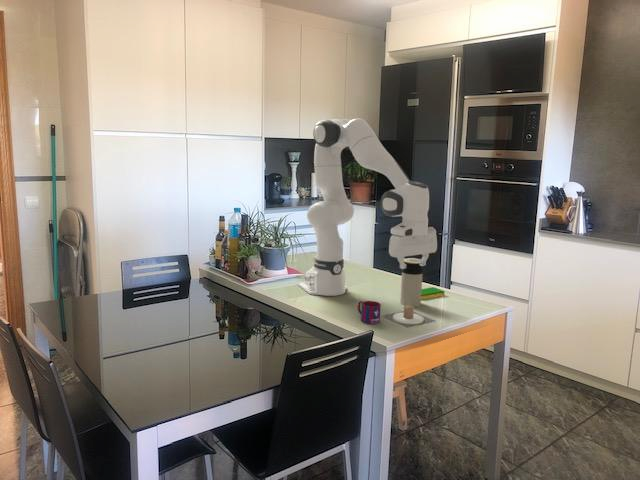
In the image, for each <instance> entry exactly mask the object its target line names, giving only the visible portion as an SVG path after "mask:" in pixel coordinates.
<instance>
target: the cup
mask: <svg viewBox="0 0 640 480" xmlns="http://www.w3.org/2000/svg"><path fill="white" fill-rule="evenodd" d="M357 311H358V313H359V315H360V322H361V323H362V324H366V325H377V324H380V322H381V303H380V302H377V301H374V300H365V301H362V300H361V301H358V304H357Z"/></svg>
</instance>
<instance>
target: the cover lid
mask: <svg viewBox="0 0 640 480" xmlns="http://www.w3.org/2000/svg"><path fill="white" fill-rule="evenodd" d="M403 311H404V312H403V313H397V312H395V313H396V314H394V315H393V320H394V321H396V322H398V323H401V324H407V325H417V324H421V323H423V322H424V318H423V317H422V316H420V315H418V314H419V313H418V314H414V312H415V307H413V306H410V305H405V306H404V305H403ZM396 322H395V323H396ZM398 323H397V324H398ZM421 325H422V324H421ZM417 326H418V325H417Z"/></svg>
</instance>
